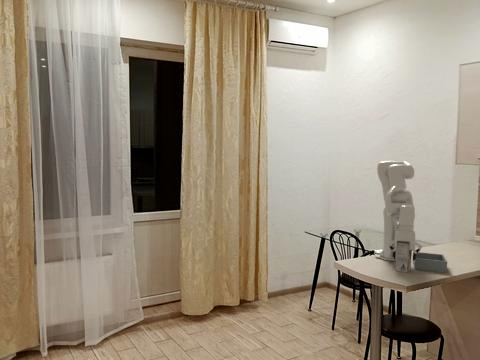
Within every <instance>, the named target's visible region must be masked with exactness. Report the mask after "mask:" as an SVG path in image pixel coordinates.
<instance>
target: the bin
mask: <svg viewBox="0 0 480 360" xmlns="http://www.w3.org/2000/svg"><path fill="white" fill-rule="evenodd" d="M413 253H414V252H413V251H412V254H413ZM411 263H412V266H413V268H414V270H418V271H419V270H420V271H421V270H422V271H427V272H438V273H445V274H446V273H447V272H448V271H447V270H448V260H447V259H446V257H445V255H444V254H443V253H442V254H441V253H440V254H439V253H433V252H421V251H419V252H418V253H417V254H416V259H414V261H413V260H411Z"/></svg>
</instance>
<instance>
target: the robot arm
mask: <svg viewBox="0 0 480 360" xmlns="http://www.w3.org/2000/svg"><path fill="white" fill-rule="evenodd" d="M377 175H378V179H379V181H380V183H381V186H382V195H383V201H384V206H385V207H384V208H383V210H382V211H383V236H382V237H383V238H382V239H383V241H382V249H380V250H379V249H374V252H373V253H374V254H376V255H379V259H381V260H384V261H390V262H396V251H397V241H402V242H410V250H412V261H414V259H416V254H417V253H418V252H421V250H422V249H423V245H421V244H420V243H419V242H417V241H416V231H414V225H415V220H416V219H415V218H416V212H415V210H416V209H415V206H414V200H413V196H412V193H411V192H410V190H407V183H406V180H412V179H413V178H414V177H415V169H414V167H413V165H412V164H410V163H409V162H407V161H401V160H398V161H397V160H383V161H380V162H378V164H377ZM416 246H417V248H416ZM413 252H414V253H413Z"/></svg>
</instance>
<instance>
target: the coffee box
mask: <svg viewBox="0 0 480 360" xmlns="http://www.w3.org/2000/svg"><path fill="white" fill-rule="evenodd" d="M412 257H413V251H412V250H410V242H402V241H397V251H396V261H395V271H396V272H402V273H409V271H410V270H411V268H412Z"/></svg>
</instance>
